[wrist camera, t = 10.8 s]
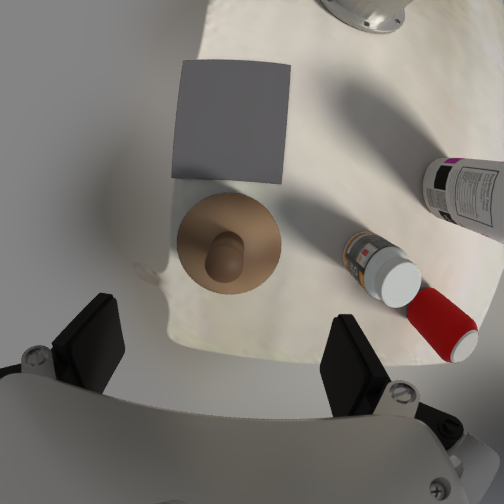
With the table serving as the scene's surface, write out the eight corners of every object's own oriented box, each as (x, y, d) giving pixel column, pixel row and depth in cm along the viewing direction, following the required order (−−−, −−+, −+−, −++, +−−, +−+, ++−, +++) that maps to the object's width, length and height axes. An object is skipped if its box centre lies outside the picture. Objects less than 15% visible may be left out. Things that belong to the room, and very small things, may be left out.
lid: (179, 190, 25) (160, 197, 19) (284, 196, 25) (295, 205, 20) (180, 286, 28) (165, 315, 22) (275, 292, 28) (281, 323, 23)
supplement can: (443, 145, 27) (527, 148, 13) (467, 193, 29) (544, 215, 15) (409, 181, 29) (497, 199, 14) (436, 229, 30) (514, 267, 16)
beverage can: (409, 285, 33) (458, 330, 21) (440, 283, 33) (489, 322, 22) (399, 323, 35) (440, 373, 23) (429, 319, 35) (471, 362, 23)
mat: (183, 61, 24) (183, 60, 24) (290, 66, 25) (290, 65, 24) (172, 177, 28) (171, 177, 28) (280, 184, 29) (281, 184, 29)
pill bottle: (332, 261, 32) (363, 298, 22) (358, 221, 30) (400, 244, 21) (365, 281, 33) (401, 321, 23) (390, 244, 31) (434, 274, 22)
